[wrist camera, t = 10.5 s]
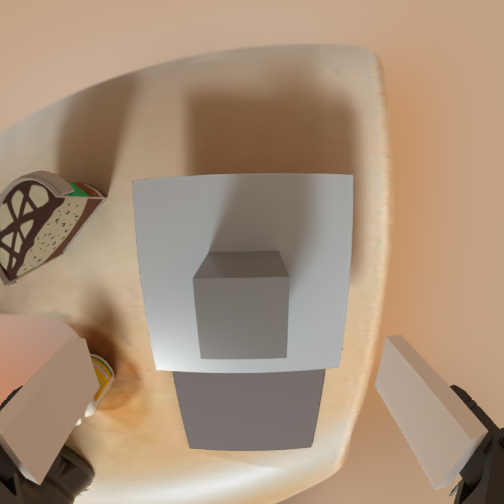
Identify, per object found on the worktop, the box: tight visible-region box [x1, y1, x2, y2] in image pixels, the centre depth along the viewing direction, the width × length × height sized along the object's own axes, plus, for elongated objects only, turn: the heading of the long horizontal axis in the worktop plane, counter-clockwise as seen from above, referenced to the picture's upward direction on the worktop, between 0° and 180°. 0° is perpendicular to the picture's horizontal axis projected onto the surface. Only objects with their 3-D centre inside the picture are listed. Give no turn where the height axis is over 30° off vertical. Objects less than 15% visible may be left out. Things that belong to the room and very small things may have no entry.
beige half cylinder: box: [0, 171, 107, 286], centre depth 23 cm, size 12×6×10 cm, turn 131°
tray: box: [172, 369, 325, 451], centre depth 33 cm, size 18×18×1 cm
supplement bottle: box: [76, 354, 115, 425], centre depth 27 cm, size 5×5×10 cm
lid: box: [132, 173, 353, 373], centre depth 19 cm, size 16×16×7 cm
